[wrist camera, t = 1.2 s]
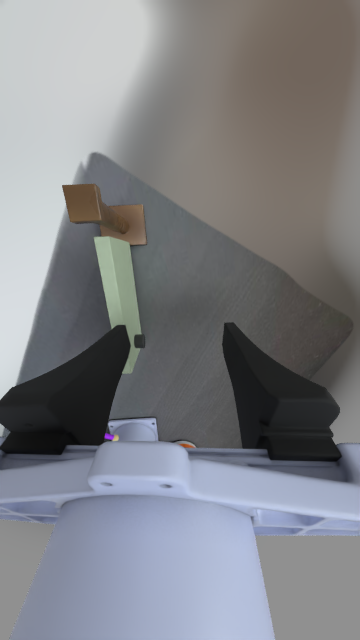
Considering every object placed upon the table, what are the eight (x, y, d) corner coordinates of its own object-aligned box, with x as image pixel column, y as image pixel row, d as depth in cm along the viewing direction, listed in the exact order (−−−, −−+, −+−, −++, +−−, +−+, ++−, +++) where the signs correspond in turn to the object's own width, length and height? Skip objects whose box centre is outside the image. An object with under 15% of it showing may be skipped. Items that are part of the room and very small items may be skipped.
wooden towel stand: (147, 244, 21) (126, 236, 12) (105, 246, 21) (51, 240, 12) (143, 205, 20) (116, 162, 11) (98, 207, 20) (31, 165, 11)
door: (149, 341, 25) (141, 372, 18) (133, 342, 25) (119, 374, 18) (138, 241, 21) (121, 235, 14) (118, 242, 21) (93, 236, 14)
